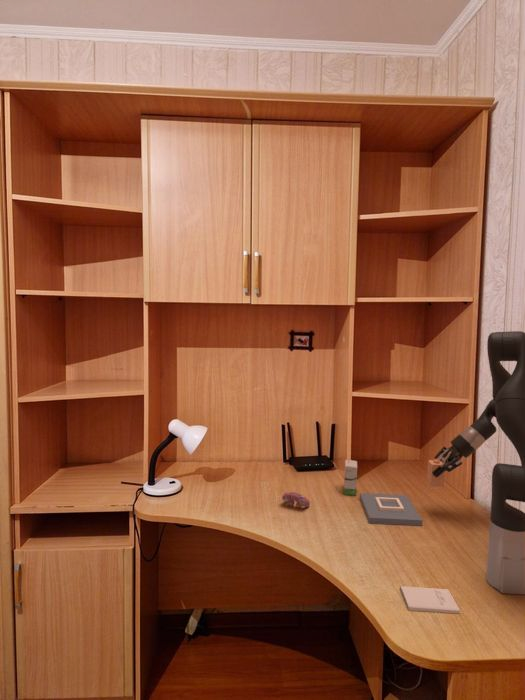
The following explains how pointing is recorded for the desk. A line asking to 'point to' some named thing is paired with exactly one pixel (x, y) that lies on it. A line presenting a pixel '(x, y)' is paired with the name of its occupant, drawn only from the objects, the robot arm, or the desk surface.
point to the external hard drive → (429, 600)
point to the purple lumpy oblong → (296, 499)
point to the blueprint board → (390, 509)
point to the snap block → (430, 477)
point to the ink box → (350, 477)
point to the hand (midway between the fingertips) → (432, 472)
